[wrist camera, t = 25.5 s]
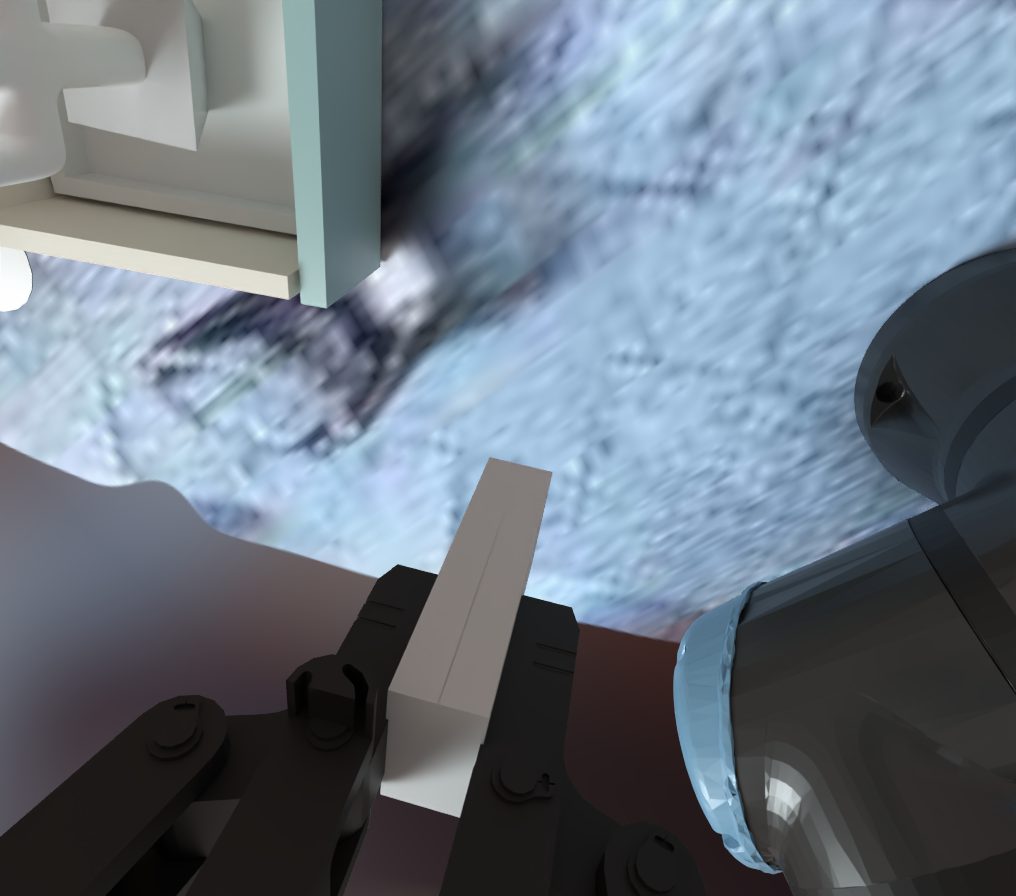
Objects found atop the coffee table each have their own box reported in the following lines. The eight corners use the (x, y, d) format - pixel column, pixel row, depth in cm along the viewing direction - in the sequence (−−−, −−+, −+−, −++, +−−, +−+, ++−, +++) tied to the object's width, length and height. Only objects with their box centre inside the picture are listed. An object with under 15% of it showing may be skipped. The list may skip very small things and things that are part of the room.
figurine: (224, -37, 31) (-55, -105, 19) (235, 164, 36) (22, 216, 24) (90, -66, 32) (-272, -151, 19) (120, 137, 37) (-150, 175, 24)
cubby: (351, -159, 29) (249, -238, 21) (356, 254, 39) (288, 299, 32) (-22, -203, 31) (-239, -290, 23) (77, 205, 41) (-50, 237, 33)
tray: (383, -169, 28) (304, -242, 22) (380, 266, 39) (326, 308, 32) (1, -213, 30) (-183, -293, 23) (99, 216, 41) (-8, 246, 34)
